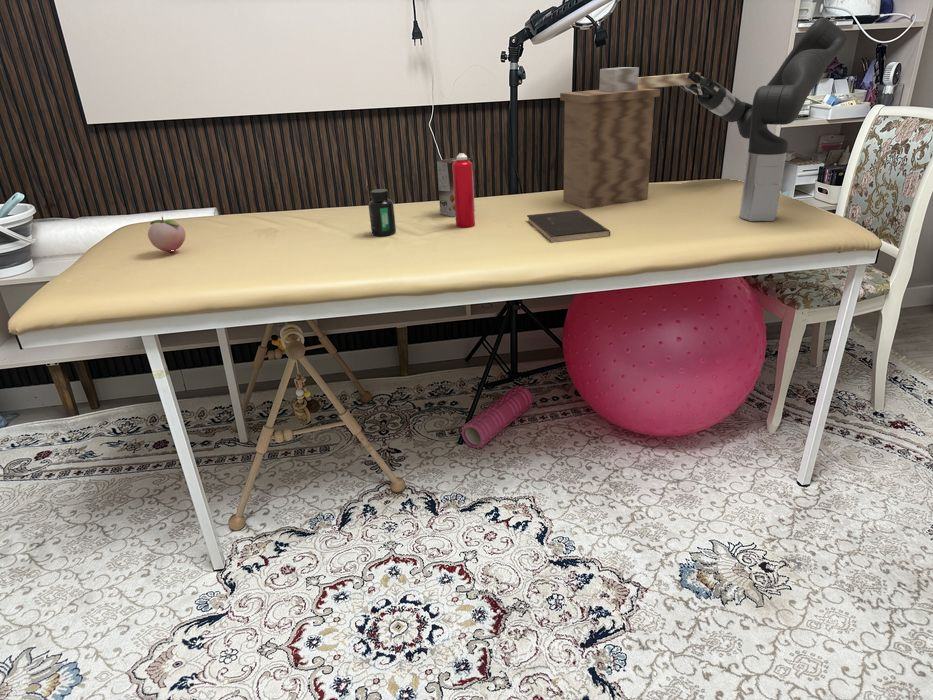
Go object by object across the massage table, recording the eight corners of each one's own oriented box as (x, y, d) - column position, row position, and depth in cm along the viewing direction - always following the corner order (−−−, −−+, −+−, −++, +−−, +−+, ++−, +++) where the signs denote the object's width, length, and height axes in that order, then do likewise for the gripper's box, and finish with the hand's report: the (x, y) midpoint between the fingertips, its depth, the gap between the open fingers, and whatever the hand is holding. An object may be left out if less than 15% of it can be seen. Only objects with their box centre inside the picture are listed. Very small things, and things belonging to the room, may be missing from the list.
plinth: (623, 190, 210) (628, 87, 196) (652, 199, 196) (660, 89, 182) (559, 199, 203) (560, 93, 189) (584, 210, 189) (587, 95, 175)
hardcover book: (551, 244, 161) (551, 236, 160) (527, 223, 182) (526, 215, 181) (610, 238, 164) (610, 229, 163) (580, 217, 184) (580, 209, 183)
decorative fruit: (146, 258, 168) (135, 221, 164) (163, 249, 176) (153, 213, 171) (178, 257, 167) (168, 220, 162) (194, 248, 174) (185, 212, 170)
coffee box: (452, 217, 190) (449, 162, 183) (439, 214, 195) (435, 160, 188) (475, 211, 195) (473, 158, 188) (462, 208, 200) (459, 156, 193)
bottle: (474, 222, 183) (470, 151, 175) (475, 227, 179) (472, 154, 170) (455, 223, 183) (451, 152, 175) (456, 228, 178) (452, 155, 170)
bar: (688, 82, 198) (689, 62, 196) (705, 83, 191) (707, 62, 189) (599, 90, 189) (600, 69, 186) (613, 92, 182) (614, 69, 179)
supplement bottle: (391, 237, 174) (387, 193, 169) (368, 236, 175) (363, 193, 170) (399, 230, 180) (394, 187, 175) (376, 230, 181) (371, 188, 176)
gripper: (707, 86, 205) (672, 61, 197) (739, 88, 193) (703, 61, 185) (695, 108, 206) (660, 84, 199) (726, 111, 194) (690, 86, 186)
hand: (681, 73), depth 192 cm, fingers open, 7 cm apart
